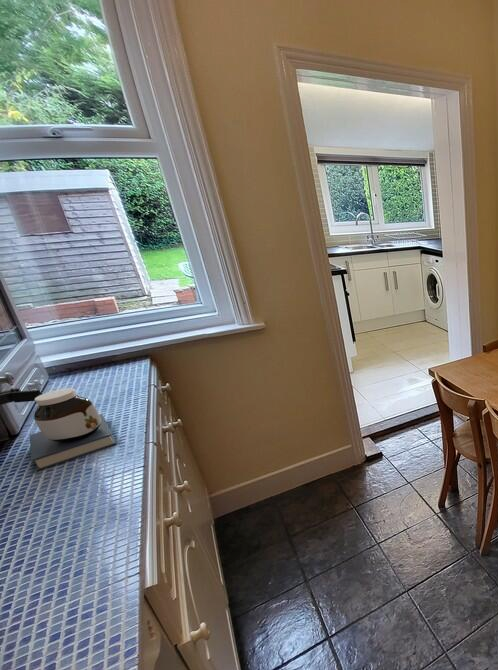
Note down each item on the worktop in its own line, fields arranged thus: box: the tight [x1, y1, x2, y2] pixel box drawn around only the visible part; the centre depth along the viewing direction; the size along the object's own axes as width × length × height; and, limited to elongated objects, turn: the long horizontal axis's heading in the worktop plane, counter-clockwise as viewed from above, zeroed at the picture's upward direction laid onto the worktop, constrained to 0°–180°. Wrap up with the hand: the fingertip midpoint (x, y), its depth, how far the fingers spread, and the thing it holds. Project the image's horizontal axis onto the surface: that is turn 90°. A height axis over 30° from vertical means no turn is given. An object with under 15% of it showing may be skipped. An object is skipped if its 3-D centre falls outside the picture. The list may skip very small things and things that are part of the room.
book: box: [29, 413, 117, 471], centre depth 105 cm, size 18×14×3 cm
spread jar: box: [33, 387, 101, 443], centre depth 102 cm, size 12×11×12 cm
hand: (14, 407), depth 100 cm, fingers open, 13 cm apart
